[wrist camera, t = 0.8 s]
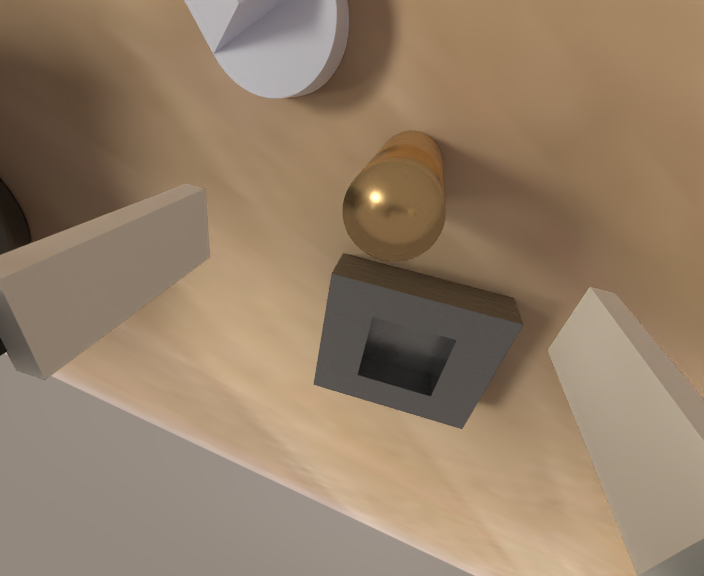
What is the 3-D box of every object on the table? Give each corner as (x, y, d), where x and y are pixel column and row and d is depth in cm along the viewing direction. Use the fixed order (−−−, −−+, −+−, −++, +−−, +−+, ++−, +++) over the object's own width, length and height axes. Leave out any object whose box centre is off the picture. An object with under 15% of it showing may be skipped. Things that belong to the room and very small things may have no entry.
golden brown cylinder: (372, 189, 28) (335, 248, 18) (386, 124, 25) (352, 150, 15) (431, 203, 28) (427, 271, 18) (451, 138, 25) (460, 175, 15)
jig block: (324, 359, 39) (313, 384, 36) (343, 253, 32) (331, 273, 28) (460, 398, 38) (462, 429, 35) (513, 298, 30) (523, 324, 27)
